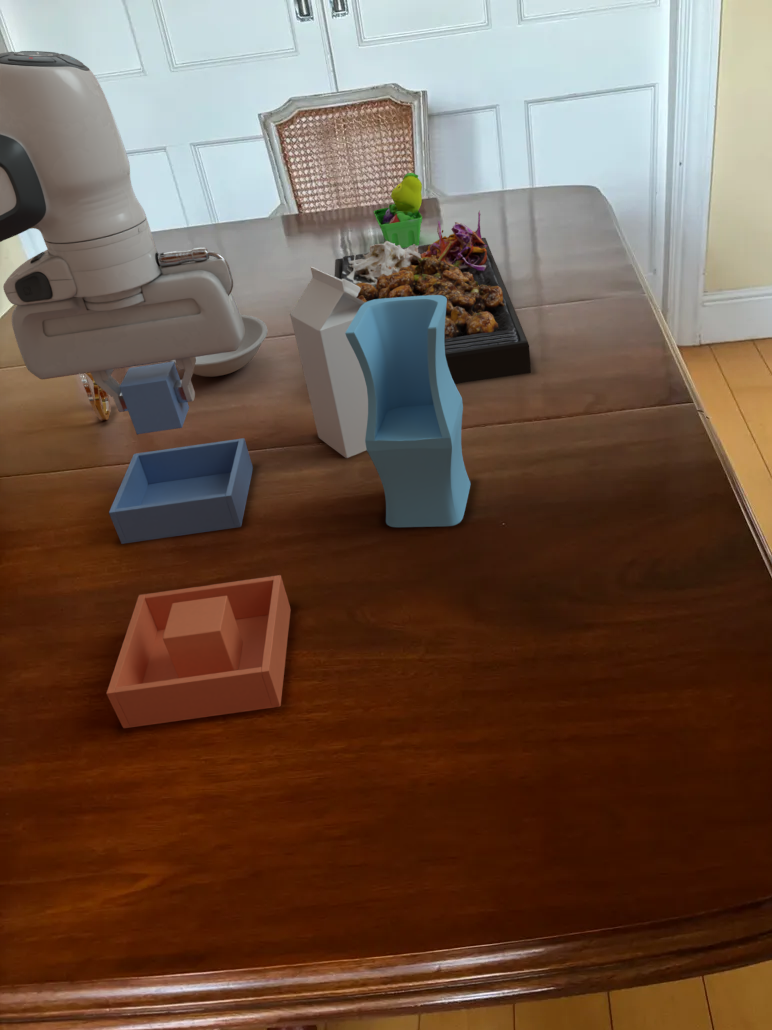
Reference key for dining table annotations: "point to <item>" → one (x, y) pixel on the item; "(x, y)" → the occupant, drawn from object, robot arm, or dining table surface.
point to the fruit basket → (402, 213)
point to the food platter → (450, 298)
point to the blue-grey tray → (183, 491)
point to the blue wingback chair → (412, 409)
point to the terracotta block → (203, 637)
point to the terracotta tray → (166, 698)
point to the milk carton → (332, 361)
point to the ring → (97, 398)
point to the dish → (234, 359)
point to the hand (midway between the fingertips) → (157, 404)
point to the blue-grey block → (153, 398)
